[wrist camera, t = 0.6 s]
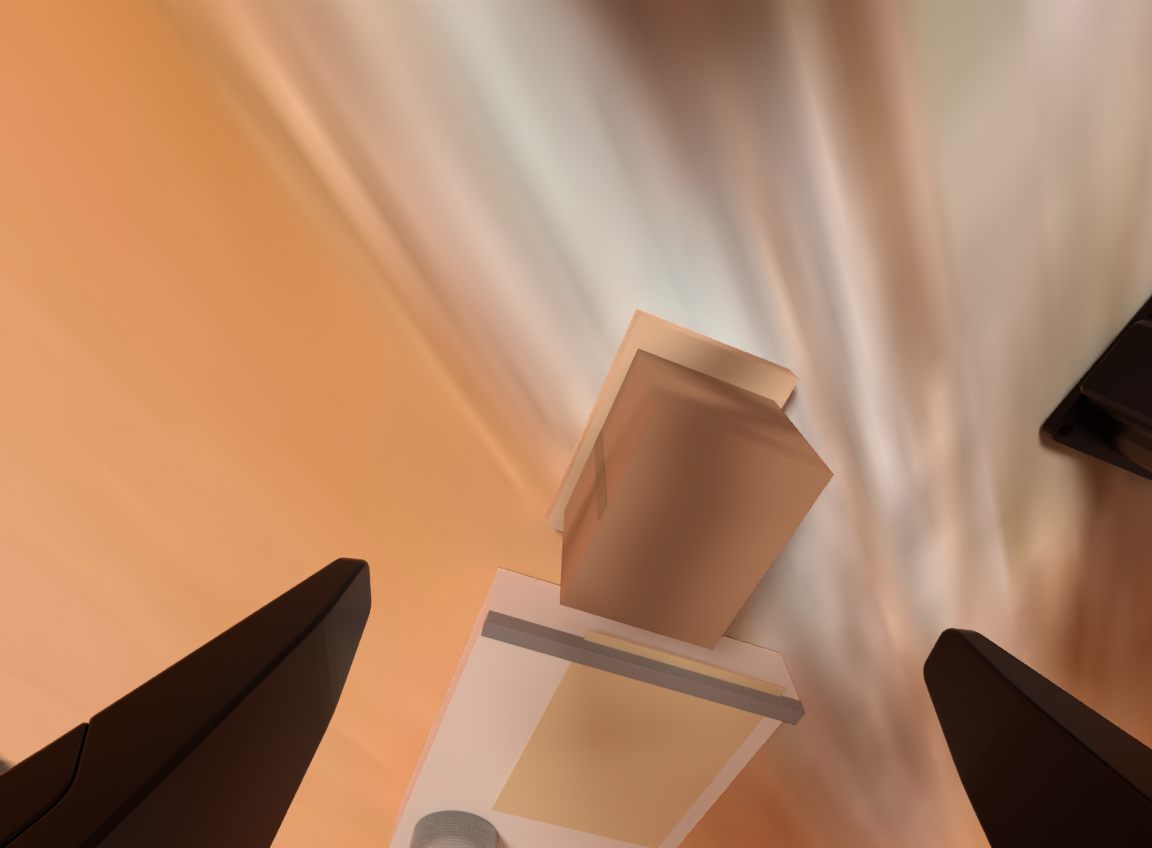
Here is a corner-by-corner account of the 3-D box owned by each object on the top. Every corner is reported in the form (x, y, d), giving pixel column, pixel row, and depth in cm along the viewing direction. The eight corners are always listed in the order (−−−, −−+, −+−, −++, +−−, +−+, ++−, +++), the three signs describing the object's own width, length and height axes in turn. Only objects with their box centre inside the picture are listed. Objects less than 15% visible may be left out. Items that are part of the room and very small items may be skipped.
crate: (787, 367, 20) (868, 448, 14) (678, 551, 23) (708, 673, 18) (636, 307, 19) (659, 369, 13) (547, 509, 23) (536, 623, 17)
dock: (786, 646, 26) (811, 706, 23) (628, 851, 33) (632, 914, 30) (501, 558, 23) (490, 612, 21) (402, 798, 31) (384, 861, 28)
